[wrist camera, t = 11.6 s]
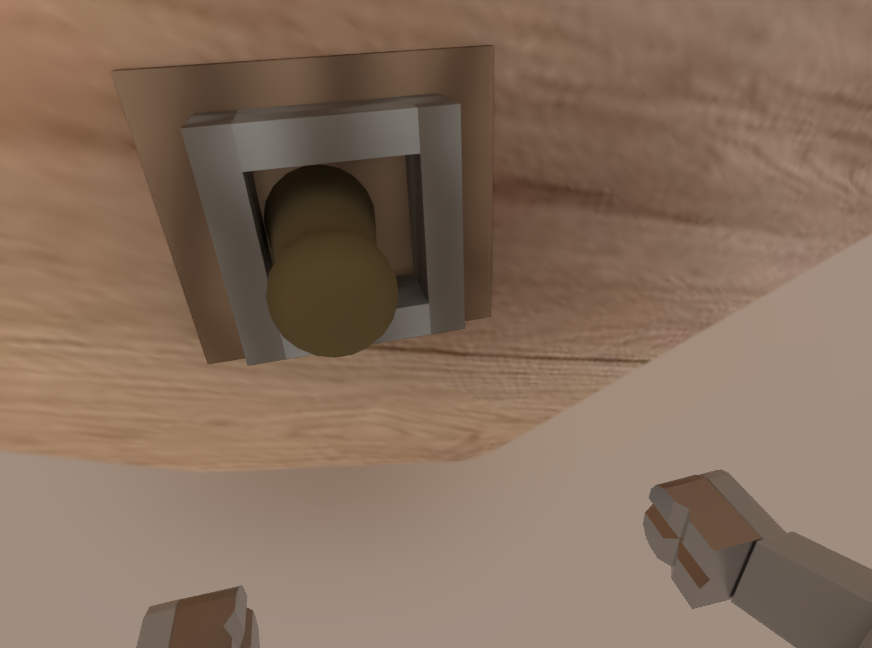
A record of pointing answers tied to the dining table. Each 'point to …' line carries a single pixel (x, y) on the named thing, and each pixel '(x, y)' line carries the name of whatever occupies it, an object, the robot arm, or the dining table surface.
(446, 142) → the socket block
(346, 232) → the cork
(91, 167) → the dining table surface
